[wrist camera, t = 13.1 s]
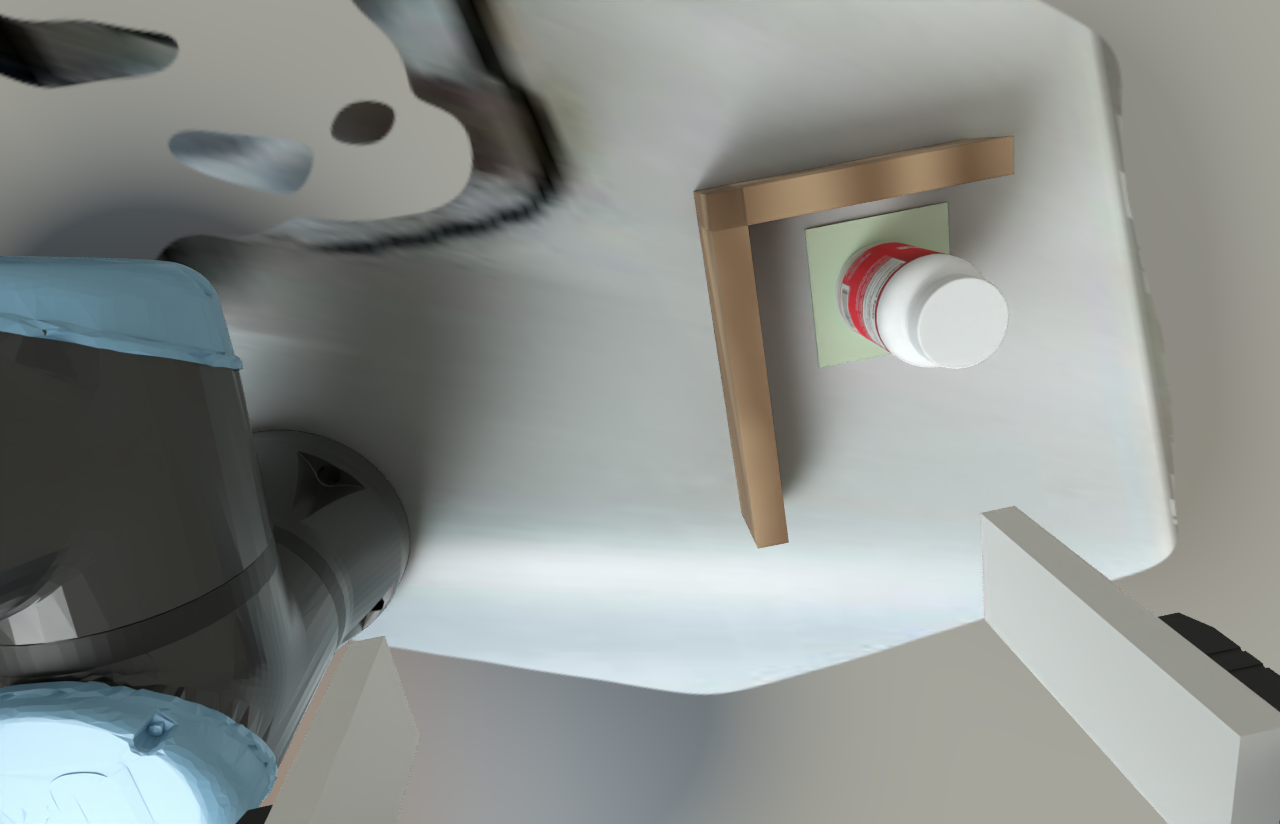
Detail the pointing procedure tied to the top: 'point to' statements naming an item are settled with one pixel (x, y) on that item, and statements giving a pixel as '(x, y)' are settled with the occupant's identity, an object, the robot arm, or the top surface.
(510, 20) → the top surface
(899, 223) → the pad
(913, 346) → the pill bottle
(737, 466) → the corner barrier
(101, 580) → the robot arm
